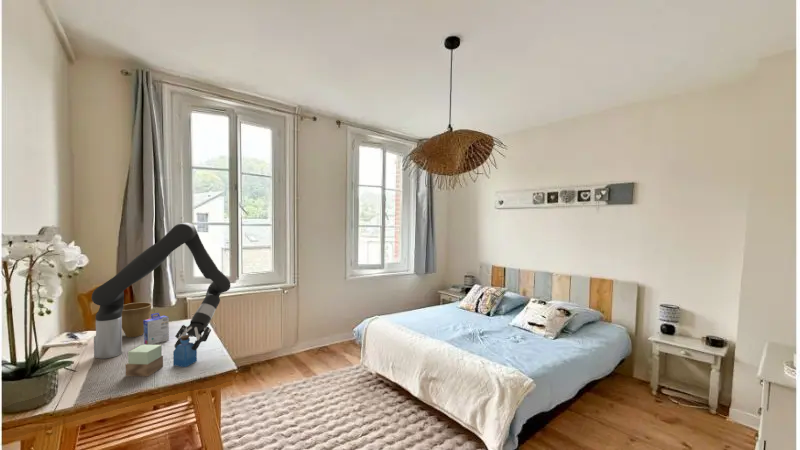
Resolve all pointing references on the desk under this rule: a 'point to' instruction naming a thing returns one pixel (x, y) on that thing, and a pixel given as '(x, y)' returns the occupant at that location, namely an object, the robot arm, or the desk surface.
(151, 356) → the tower top block
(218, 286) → the robot arm
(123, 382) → the desk surface
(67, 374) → the desk surface
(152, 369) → the tower base block
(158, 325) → the ink cartridge box
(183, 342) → the perfume bottle
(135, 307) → the plant pot
